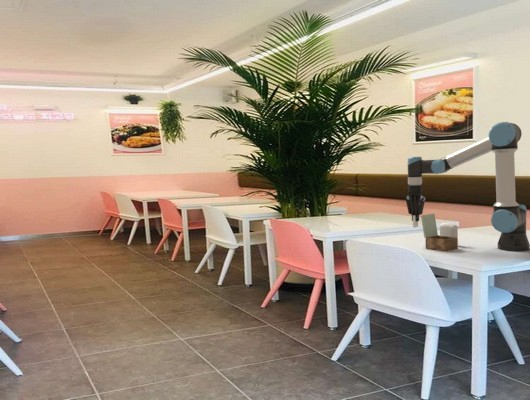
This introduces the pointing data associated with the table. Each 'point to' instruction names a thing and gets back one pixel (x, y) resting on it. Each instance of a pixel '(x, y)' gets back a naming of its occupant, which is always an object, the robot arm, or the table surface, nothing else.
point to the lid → (429, 225)
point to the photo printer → (448, 230)
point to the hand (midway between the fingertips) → (415, 226)
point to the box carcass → (442, 243)
